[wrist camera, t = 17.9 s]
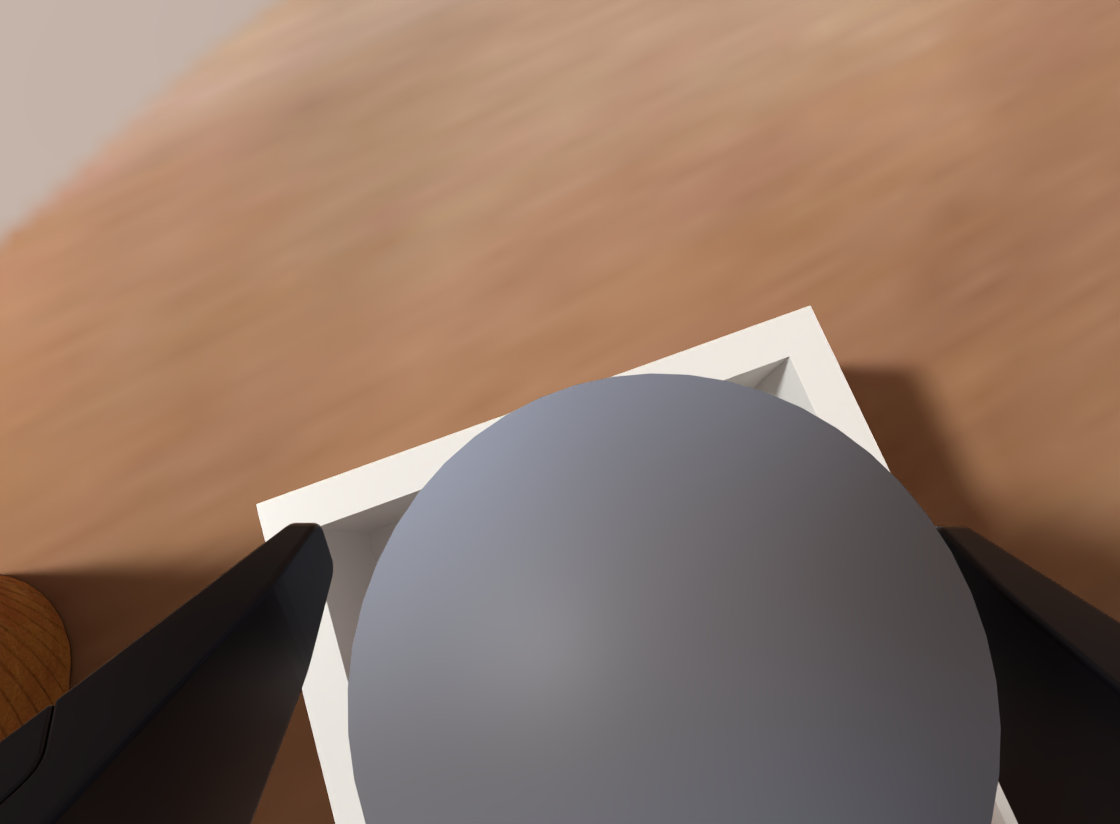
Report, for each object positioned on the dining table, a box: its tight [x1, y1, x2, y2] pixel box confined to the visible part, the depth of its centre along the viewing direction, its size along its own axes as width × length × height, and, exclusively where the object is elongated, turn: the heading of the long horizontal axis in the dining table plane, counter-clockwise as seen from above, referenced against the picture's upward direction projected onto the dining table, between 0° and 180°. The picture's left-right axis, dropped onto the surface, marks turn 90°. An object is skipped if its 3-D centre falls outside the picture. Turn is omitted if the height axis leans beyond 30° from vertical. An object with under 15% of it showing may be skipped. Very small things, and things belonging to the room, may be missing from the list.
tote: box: [256, 306, 1018, 824], centre depth 15 cm, size 18×14×5 cm
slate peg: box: [348, 373, 1001, 824], centre depth 11 cm, size 5×5×13 cm
